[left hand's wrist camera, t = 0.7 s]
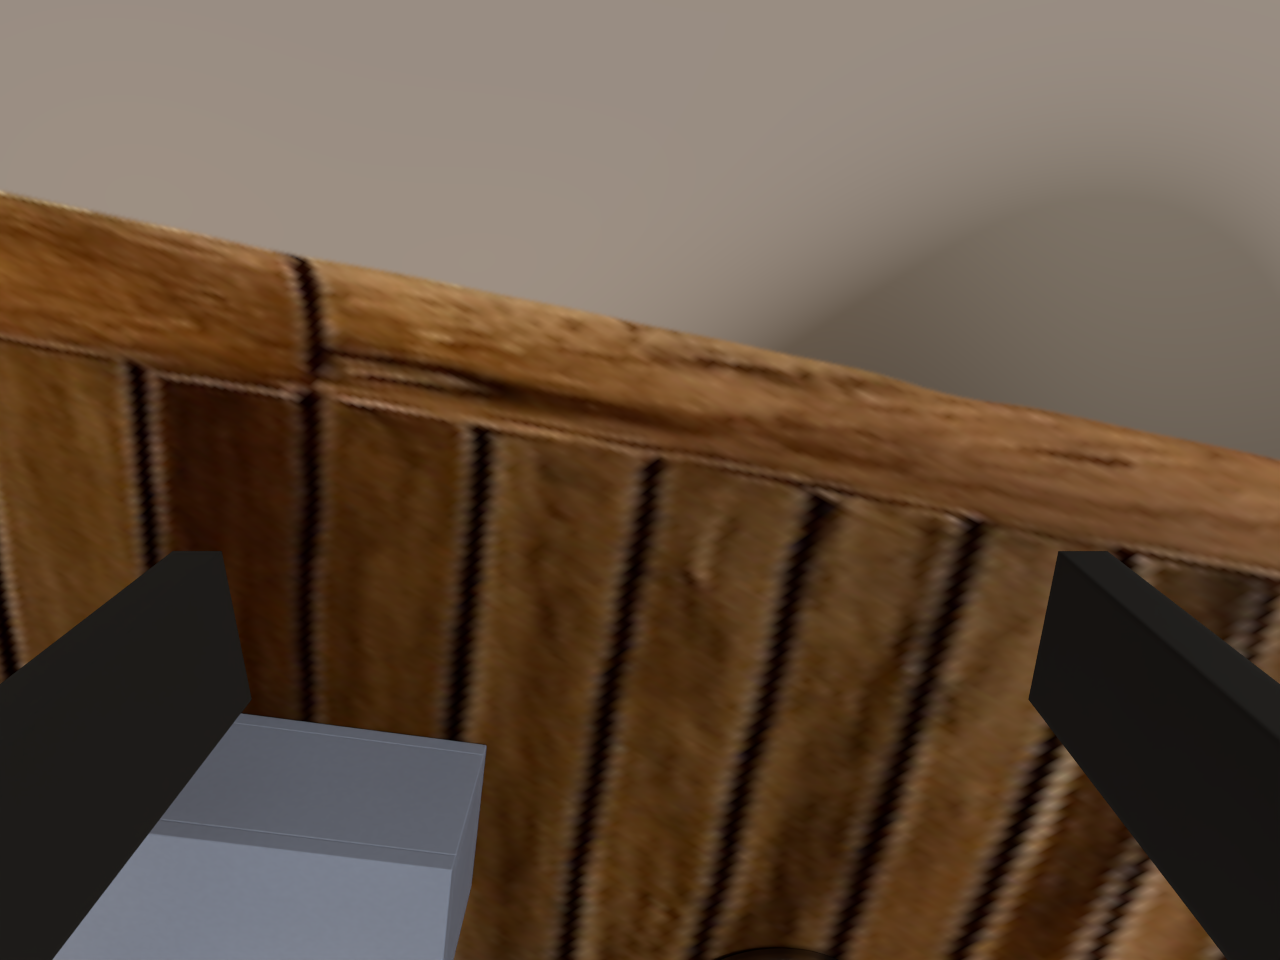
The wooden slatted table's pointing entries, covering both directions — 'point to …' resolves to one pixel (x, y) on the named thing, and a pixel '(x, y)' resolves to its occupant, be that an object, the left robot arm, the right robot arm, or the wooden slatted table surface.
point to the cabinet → (301, 852)
